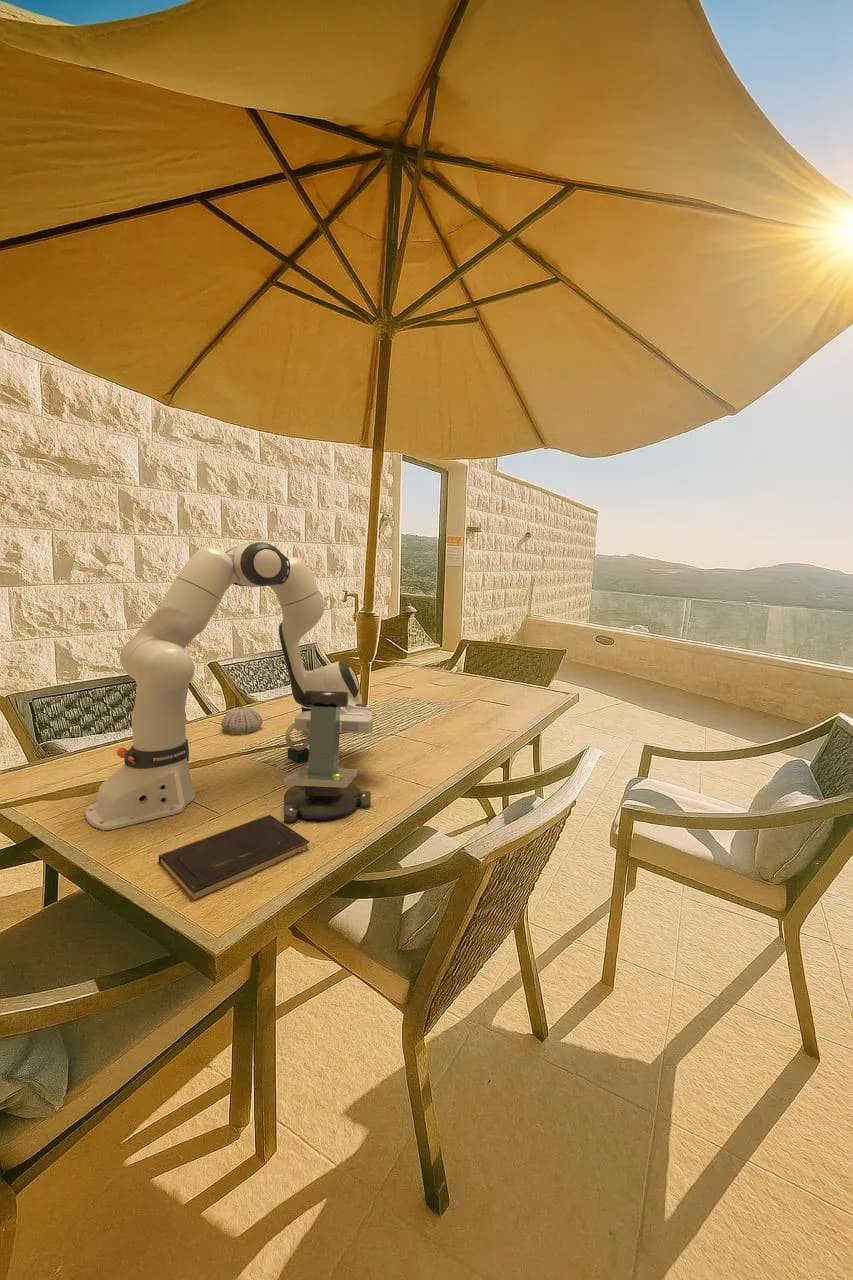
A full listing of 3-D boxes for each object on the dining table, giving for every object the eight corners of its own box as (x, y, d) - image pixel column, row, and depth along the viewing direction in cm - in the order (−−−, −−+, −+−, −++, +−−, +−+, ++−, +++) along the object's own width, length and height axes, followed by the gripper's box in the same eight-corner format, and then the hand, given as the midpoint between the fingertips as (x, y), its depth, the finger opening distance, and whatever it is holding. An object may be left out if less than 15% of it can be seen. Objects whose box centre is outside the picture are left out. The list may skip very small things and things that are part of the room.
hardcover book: (309, 851, 102) (309, 841, 102) (193, 904, 86) (193, 891, 85) (268, 822, 113) (268, 813, 113) (158, 864, 96) (158, 853, 96)
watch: (316, 758, 150) (316, 722, 148) (292, 765, 144) (291, 728, 143) (305, 753, 154) (305, 718, 152) (282, 759, 148) (281, 723, 147)
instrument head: (301, 772, 128) (306, 689, 129) (356, 775, 128) (360, 691, 129) (284, 785, 114) (289, 691, 115) (346, 787, 114) (350, 693, 115)
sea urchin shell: (253, 721, 183) (252, 700, 182) (268, 731, 173) (268, 708, 172) (215, 728, 175) (214, 706, 173) (229, 739, 164) (228, 715, 163)
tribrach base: (298, 783, 132) (298, 763, 131) (376, 787, 131) (376, 767, 131) (271, 823, 112) (270, 799, 111) (363, 827, 111) (363, 803, 110)
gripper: (302, 703, 139) (286, 717, 125) (376, 706, 138) (368, 721, 124) (302, 725, 140) (286, 742, 126) (376, 728, 139) (368, 745, 125)
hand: (328, 731), depth 125 cm, fingers closed
